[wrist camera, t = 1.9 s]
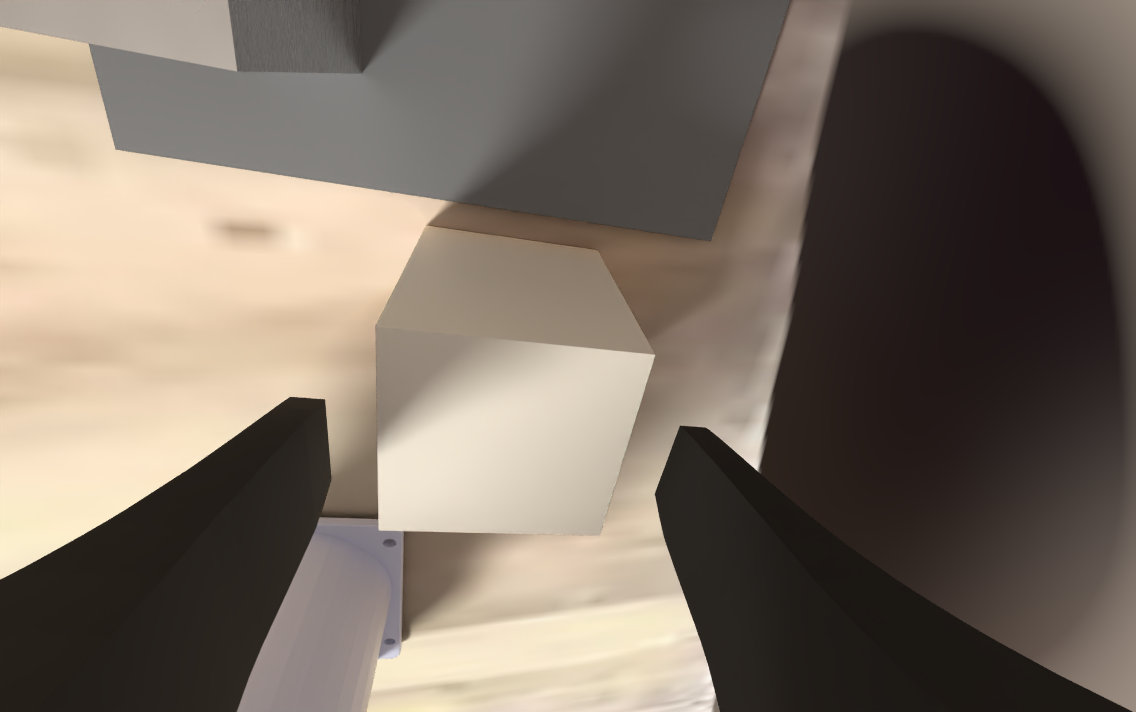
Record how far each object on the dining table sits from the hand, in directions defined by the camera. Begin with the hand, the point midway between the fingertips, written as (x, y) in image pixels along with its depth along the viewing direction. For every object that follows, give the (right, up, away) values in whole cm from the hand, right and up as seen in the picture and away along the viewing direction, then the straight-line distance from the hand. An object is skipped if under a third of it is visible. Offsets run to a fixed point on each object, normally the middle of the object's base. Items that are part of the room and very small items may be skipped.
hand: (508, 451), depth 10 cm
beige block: (-1, +3, +6) cm, 7 cm away
